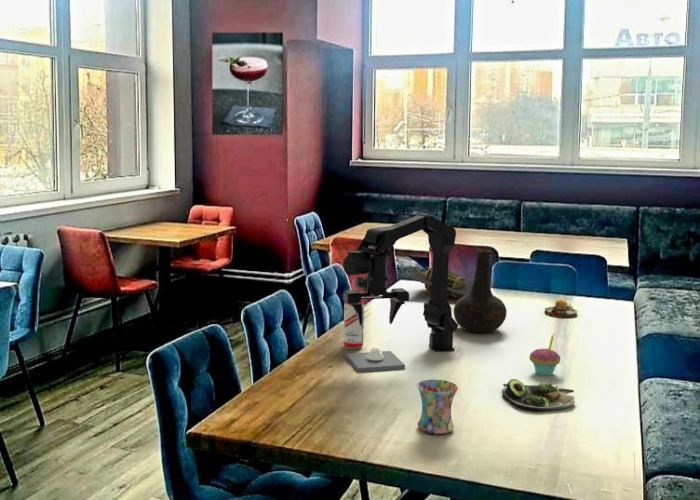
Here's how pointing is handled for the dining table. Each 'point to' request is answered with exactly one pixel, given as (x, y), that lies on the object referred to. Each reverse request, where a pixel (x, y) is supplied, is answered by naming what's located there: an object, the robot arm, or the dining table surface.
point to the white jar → (375, 354)
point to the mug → (436, 405)
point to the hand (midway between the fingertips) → (375, 324)
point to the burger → (561, 310)
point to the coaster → (375, 362)
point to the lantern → (454, 283)
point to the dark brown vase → (480, 301)
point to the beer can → (353, 327)
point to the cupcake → (545, 360)
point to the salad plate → (536, 396)
